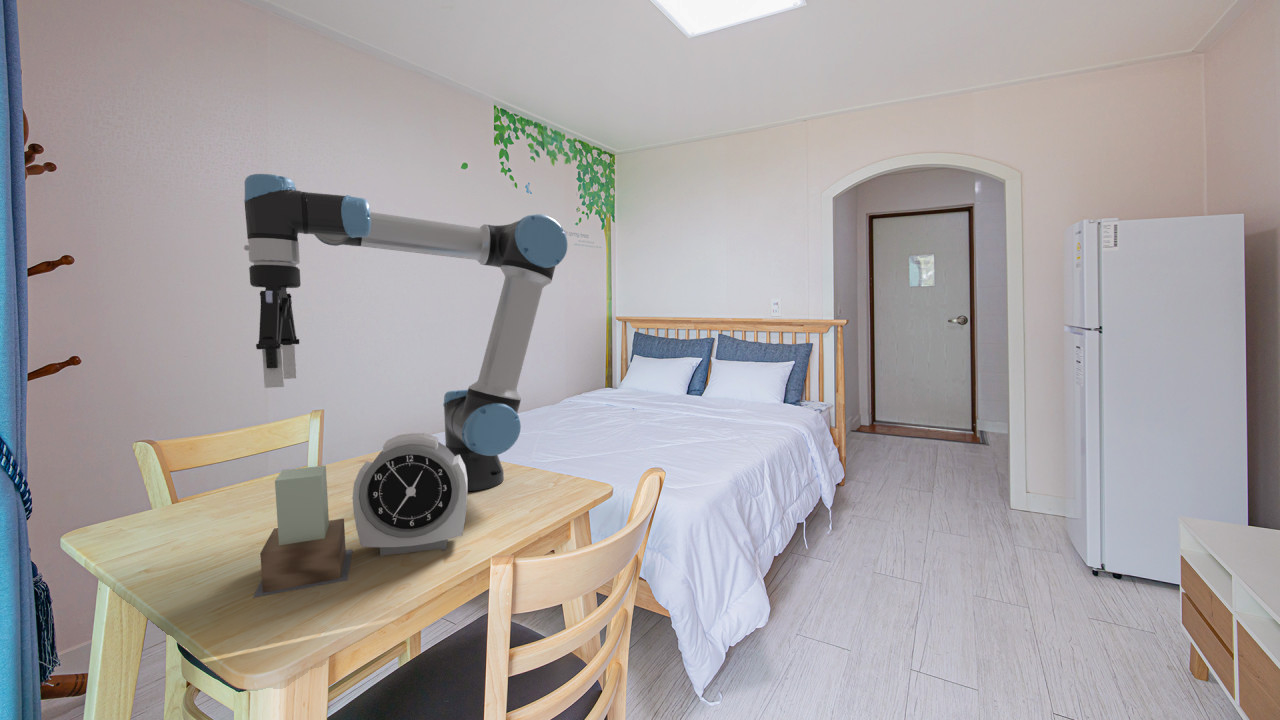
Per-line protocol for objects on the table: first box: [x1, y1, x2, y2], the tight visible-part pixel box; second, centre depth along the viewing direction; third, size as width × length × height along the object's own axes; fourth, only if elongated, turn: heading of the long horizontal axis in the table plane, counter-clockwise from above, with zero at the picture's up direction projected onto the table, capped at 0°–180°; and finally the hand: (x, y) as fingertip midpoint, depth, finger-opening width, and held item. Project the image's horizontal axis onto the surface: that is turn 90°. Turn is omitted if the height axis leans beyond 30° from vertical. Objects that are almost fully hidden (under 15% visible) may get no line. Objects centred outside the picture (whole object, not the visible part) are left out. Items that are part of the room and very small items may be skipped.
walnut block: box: [260, 518, 347, 593], centre depth 85 cm, size 10×10×6 cm
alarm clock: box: [351, 432, 468, 557], centre depth 94 cm, size 18×8×20 cm, turn 106°
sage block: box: [274, 465, 330, 545], centre depth 84 cm, size 6×6×10 cm
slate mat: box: [252, 548, 353, 599], centre depth 85 cm, size 12×12×1 cm
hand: (282, 382), depth 98 cm, fingers open, 13 cm apart
